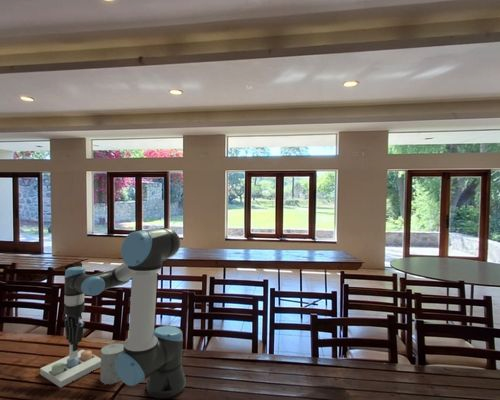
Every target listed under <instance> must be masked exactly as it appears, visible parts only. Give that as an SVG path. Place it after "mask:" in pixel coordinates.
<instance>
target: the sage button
mask: <svg viewBox="0 0 500 400" xmlns="http://www.w3.org/2000/svg"><path fill="white" fill-rule="evenodd" d="M62 372H64V363H57V364H55V365H53V366H52V375H53V376H56V375H58V374H60V373H62Z"/></svg>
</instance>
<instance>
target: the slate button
mask: <svg viewBox="0 0 500 400" xmlns="http://www.w3.org/2000/svg"><path fill="white" fill-rule="evenodd" d="M77 365H79V357H75V358H73V359H70V358H68V359H67V367H68V368H69V369H71V368H73V367H75V366H77Z"/></svg>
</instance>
